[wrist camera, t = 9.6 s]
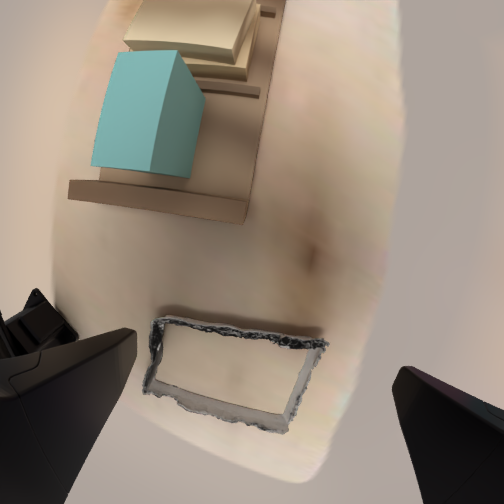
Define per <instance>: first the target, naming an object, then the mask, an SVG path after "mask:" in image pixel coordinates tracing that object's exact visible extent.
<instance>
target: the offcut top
mask: <svg viewBox="0 0 504 504" xmlns="http://www.w3.org/2000/svg"><path fill="white" fill-rule="evenodd" d="M255 12H256V0H144V1H143V2H142V4H141V6H140V8H139V9H138V11H137V13H136V15H135V17H134V19H133V21H132V22H131V24H130V26H129V28H128V30H127V32H126V34H125V36H124V38H123V41H124V42H125V43H126V44H127V45H128V46H129V47H130V48H131V49H132V50H133V51H153V50H178V52H179V54H180V55H181V57H184V58H192V59H200V60H207V61H213V62H219V63H225V64H230V65H235V63H236V61H237V58H238V55H239V52H240V50H241V47H242V45H243V42H244V39H245V37H246V34H247V32H248V29H249V27H250V24H251V22H252V19H253V17H254V14H255Z"/></svg>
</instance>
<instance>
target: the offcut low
mask: <svg viewBox="0 0 504 504" xmlns="http://www.w3.org/2000/svg"><path fill="white" fill-rule="evenodd" d="M259 24H260V4H256V12H255V14H254V17H253V19H252V22H251V24H250V27H249V29H248V32H247V34H246V37H245V39H244V42H243V45H242V47H241V50H240V52H239V55H238V58H237V61H236V63H235V65H230V64H225V63H219V62H213V61H207V60H200V59H192V58H184V57H182V59H183V60H184V62H185V64H186V65H187V67H188V69H189V71H190V72H191V74H192V76H193V77H202V78H215V79H225V80H235V81H243V82H247V79H248V74H249V69H250V65H251V60H252V55H253V51H254V46H255V42H256V37H257V33H258V29H259ZM129 52H133V50H132V49H131V48H130V51H129Z"/></svg>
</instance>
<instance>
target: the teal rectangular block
mask: <svg viewBox="0 0 504 504" xmlns="http://www.w3.org/2000/svg"><path fill="white" fill-rule="evenodd" d="M205 100H206V98H205V97H204V95H203V93H202V91H201V90H200V88H199V86H198V84H197V83H196V81H195V79H194V78H193V76H192V74H191V72H190V71H189V69H188V67H187V65H186V64H185V62H184V60H183V59H182V57H181V55H180V54H179V52H178V50H153V51H133V52H120V53H118V56H117V59H116V62H115V65H114V68H113V71H112V74H111V78H110V81H109V84H108V88H107V91H106V95H105V99H104V103H103V107H102V111H101V115H100V119H99V124H98V129H97V133H96V138H95V144H94V149H93V155H92V161H91V166H96V167H105V168H113V169H121V170H129V171H136V172H143V173H151V174H159V175H168V176H175V177H183V178H190V176H191V170H192V164H193V159H194V153H195V148H196V143H197V138H198V133H199V128H200V123H201V118H202V113H203V109H204V104H205Z"/></svg>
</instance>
